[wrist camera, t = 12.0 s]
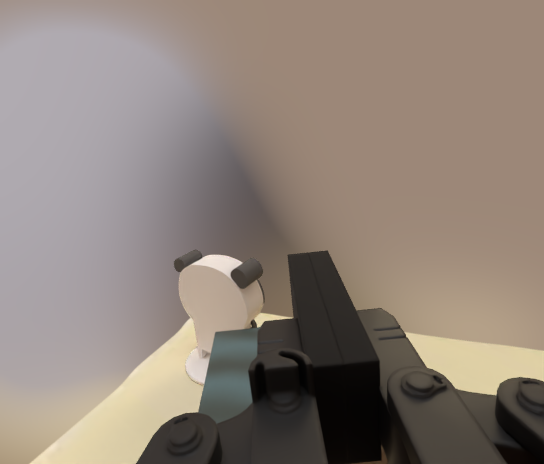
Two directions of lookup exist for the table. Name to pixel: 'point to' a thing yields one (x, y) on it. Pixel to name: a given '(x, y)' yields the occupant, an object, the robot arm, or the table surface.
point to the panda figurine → (217, 300)
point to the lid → (229, 374)
